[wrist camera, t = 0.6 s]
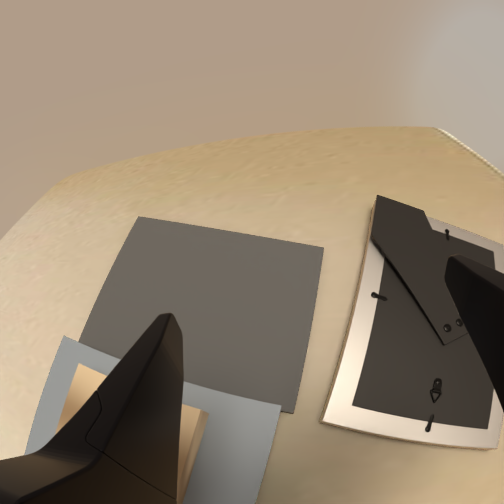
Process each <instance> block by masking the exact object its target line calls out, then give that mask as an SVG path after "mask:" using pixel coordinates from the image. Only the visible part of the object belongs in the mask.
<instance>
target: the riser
mask: <svg viewBox="0 0 504 504" xmlns="http://www.w3.org/2000/svg"><path fill="white" fill-rule="evenodd" d="M119 361H120V359H118V358H115V357H113V356H110V355H108V354H105V353H103V352H100V351H98V350H95V349H93V348H91V347H88V346H86V345H84V344H81V343H79V342H77V341H75V340H72V339H70V338H68V337H66V336H63V339H62V341H61V344H60V346H59V349H58V351H57V354H56V356H55V359H54V361H53V364H52V367H51V369H50V372H49V375H48V378H47V381H46V383H45V386H44V389H43V392H42V395H41V398H40V401H39V405H38V408H37V411H36V414H35V418H34V421H33V424H32V428H31V431H30V435H29V439H28V443H27V447H26V451H25V455H28V454H31V453H34V452H36V451H38V450H39V449H41V448H42V447H43V446H45V445H46V444H47V443H48V442H49V441H50V440H51V439H52V438H53V436H54V435H55V433H56V429H57V426H58V423H59V419H60V416H61V413H62V410H63V407H64V404H65V400H66V397H67V395H68V392H69V389H70V386H71V383H72V380H73V377H74V375H75V372H76V369H77V366H78V364H79V363H80V364H82V365H84V366H86V367H88V368H90V369H93V370H95V371H97V372H99V373H102V374H104V375H106V376H108V374H109V373H110V372H111V371H112V370H113V368H114V367H115V366H116V365H117V364H118V362H119ZM182 404H184V405H187V406H191V407H194V408H197V409H201V410H203V411H205V412H207V413H209V415H208V419H207V422H206V426H205V429H204V432H203V436H202V439H201V443H200V446H199V449H198V453H197V456H196V460H195V463H194V466H193V470H192V473H191V477H190V480H189V483H188V487H187V490H186V494H185V497H184V500H183V504H255V503H256V500H257V496H258V493H259V490H260V486H261V483H262V479H263V476H264V472H265V468H266V465H267V461H268V457H269V454H270V450H271V446H272V442H273V438H274V434H275V431H276V427H277V423H278V418H279V414H280V410H281V405H276V404H271V403H266V402H261V401H257V400H252V399H248V398H244V397H240V396H235V395H231V394H227V393H224V392H220V391H216V390H212V389H209V388H205V387H202V386H198V385H195V384H191V383H188V382H185V381H184V385H183V397H182Z"/></svg>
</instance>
